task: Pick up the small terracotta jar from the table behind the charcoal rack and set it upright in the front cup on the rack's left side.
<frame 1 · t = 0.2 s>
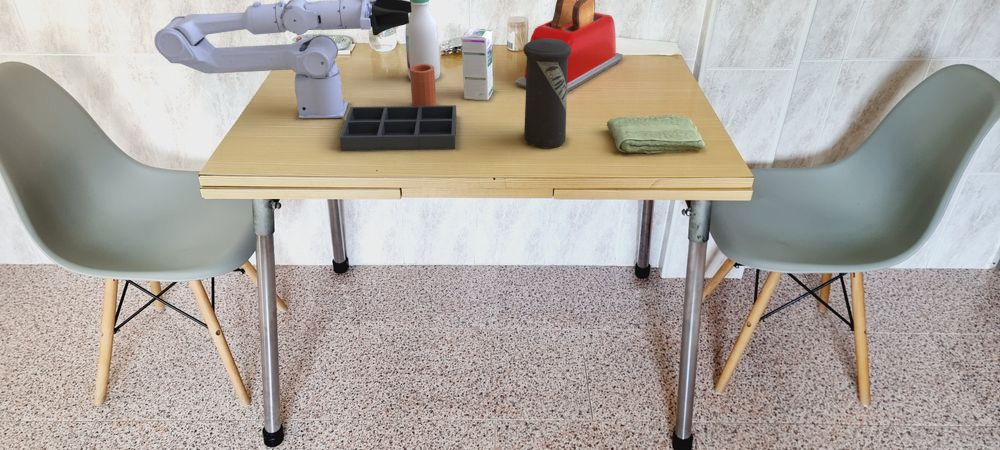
hand: (410, 12, 147), 21 cm above the table, tool horizontal, fingers open, 7 cm apart
jar: (424, 107, 160), on the table
washcloth: (654, 141, 146), on the table
rack: (401, 133, 148), on the table
syrup box: (478, 96, 166), on the table
container: (544, 140, 146), on the table
milk bottle: (424, 77, 176), on the table
toaster: (571, 72, 178), on the table
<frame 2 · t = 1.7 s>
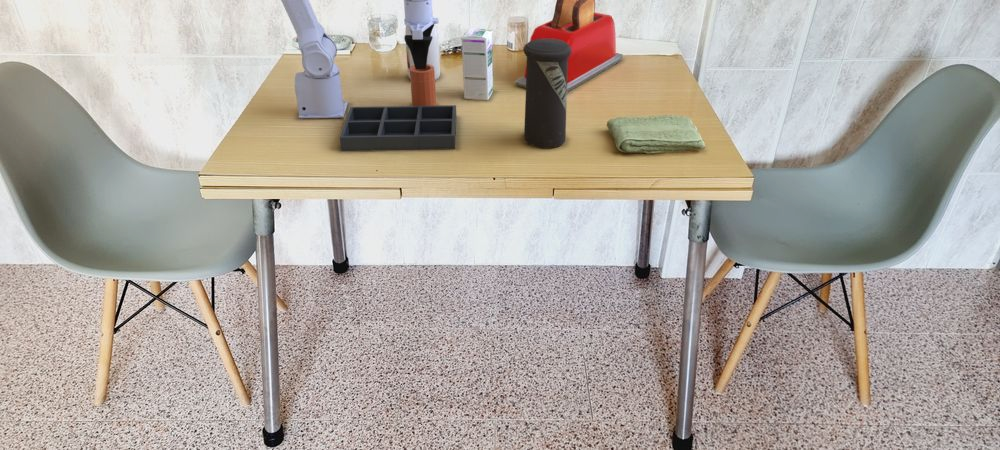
hand: (421, 62, 155), 10 cm above the table, tool pointing down, fingers open, 7 cm apart
nothing on the table moved.
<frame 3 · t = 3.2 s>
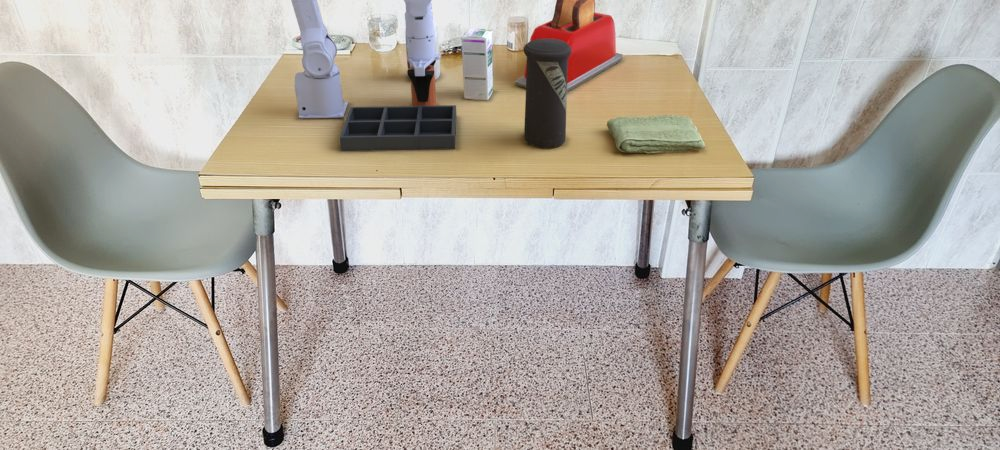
hand: (423, 96, 159), 3 cm above the table, tool pointing down, fingers closed on jar, 5 cm apart
jar: (424, 107, 160), on the table, touching gripper
everything else where it was.
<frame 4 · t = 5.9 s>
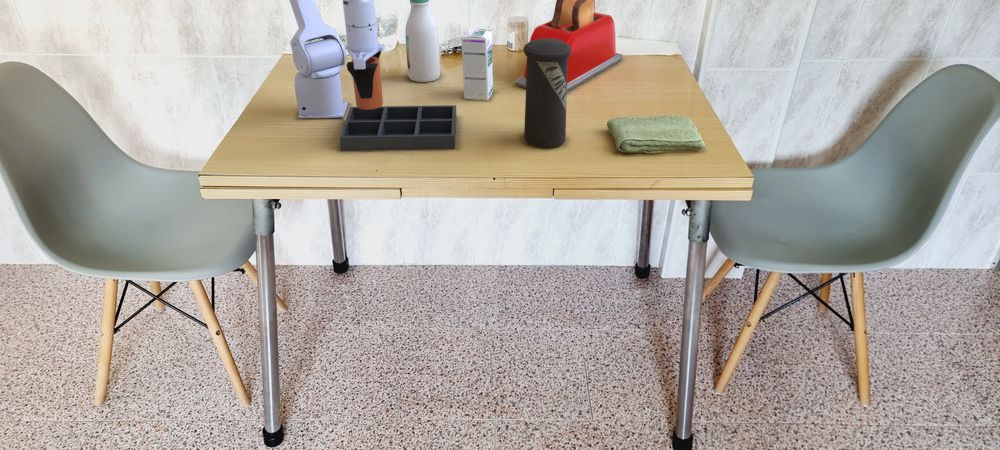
hand: (368, 92, 142), 10 cm above the table, tool pointing down, fingers closed on jar, 5 cm apart
jar: (369, 104, 143), point 7 cm above the table, touching gripper
everything else where it was.
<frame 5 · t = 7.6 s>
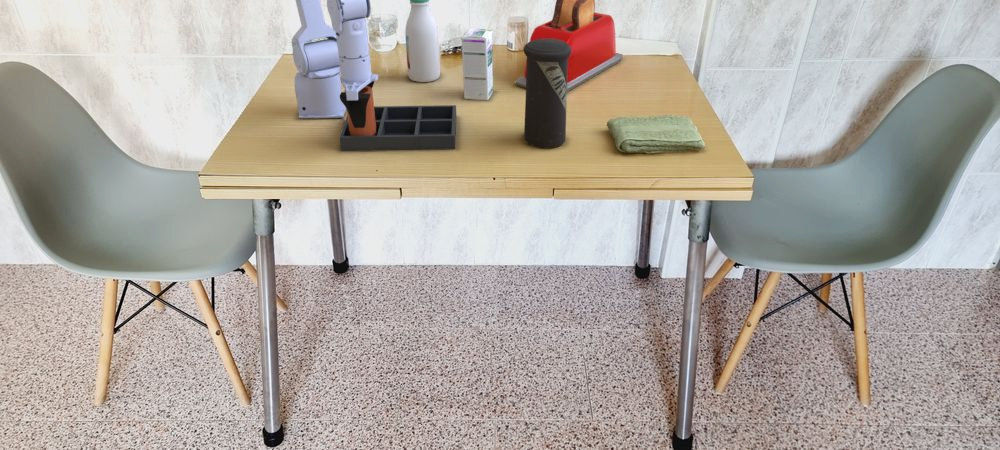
hand: (361, 121, 143), 5 cm above the table, tool pointing down, fingers closed on jar, 5 cm apart
jar: (363, 133, 144), point 2 cm above the table, touching gripper
everything else where it was.
when the fingers open (3 cm above the table, at t = 8.7 s): jar stays where it is, resting on rack.
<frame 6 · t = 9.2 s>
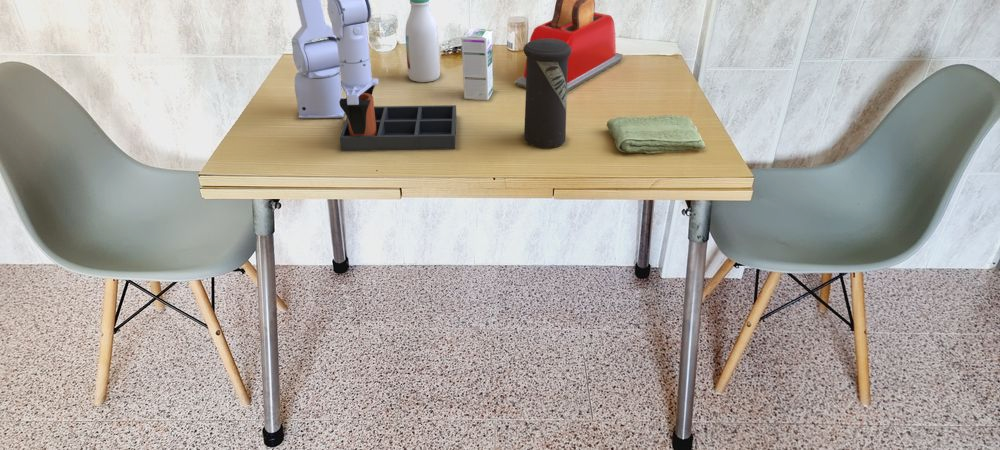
hand: (361, 125, 143), 4 cm above the table, tool pointing down, fingers open, 7 cm apart
jar: (364, 140, 145), resting on rack
everything else where it was.
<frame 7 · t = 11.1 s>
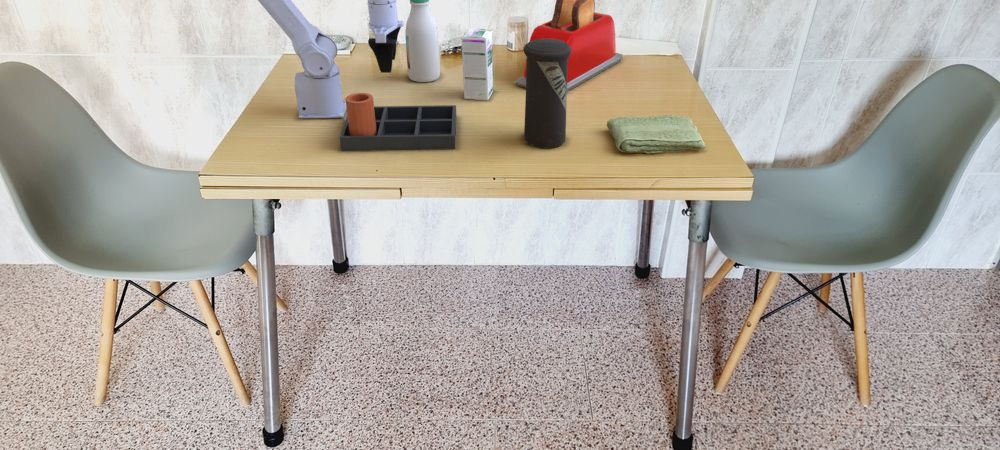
hand: (388, 65, 154), 10 cm above the table, tool pointing down, fingers open, 7 cm apart
nothing on the table moved.
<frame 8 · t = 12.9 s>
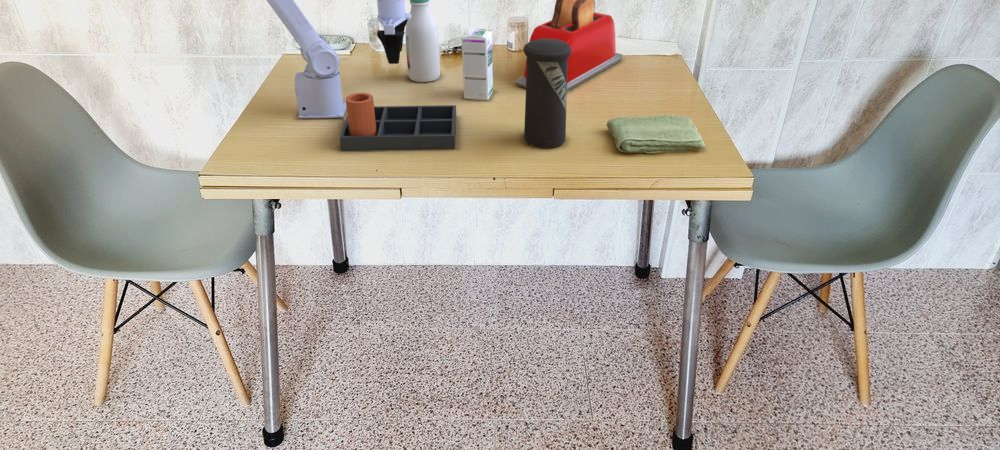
hand: (395, 57, 158), 10 cm above the table, tool pointing down, fingers open, 7 cm apart
nothing on the table moved.
at the end: jar 0.1 cm from the target spot in the rack, point 0.4 cm above the rack's base; jar tilted 0° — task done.
